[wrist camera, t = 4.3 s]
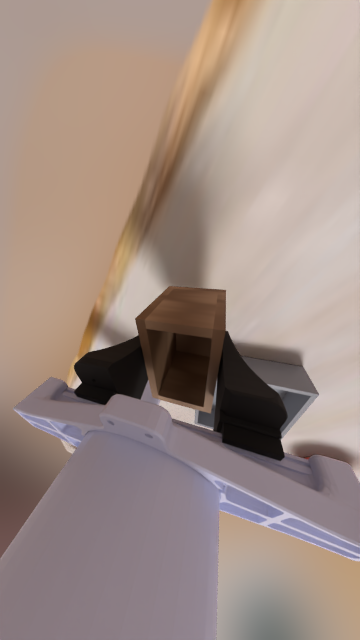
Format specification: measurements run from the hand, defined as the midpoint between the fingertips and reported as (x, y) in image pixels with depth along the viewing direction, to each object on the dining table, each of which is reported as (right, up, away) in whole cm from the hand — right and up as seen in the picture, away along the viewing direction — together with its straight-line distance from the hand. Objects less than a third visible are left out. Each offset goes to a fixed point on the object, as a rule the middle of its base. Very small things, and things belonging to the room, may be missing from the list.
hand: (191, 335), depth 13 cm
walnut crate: (0, +1, +1) cm, 2 cm away
